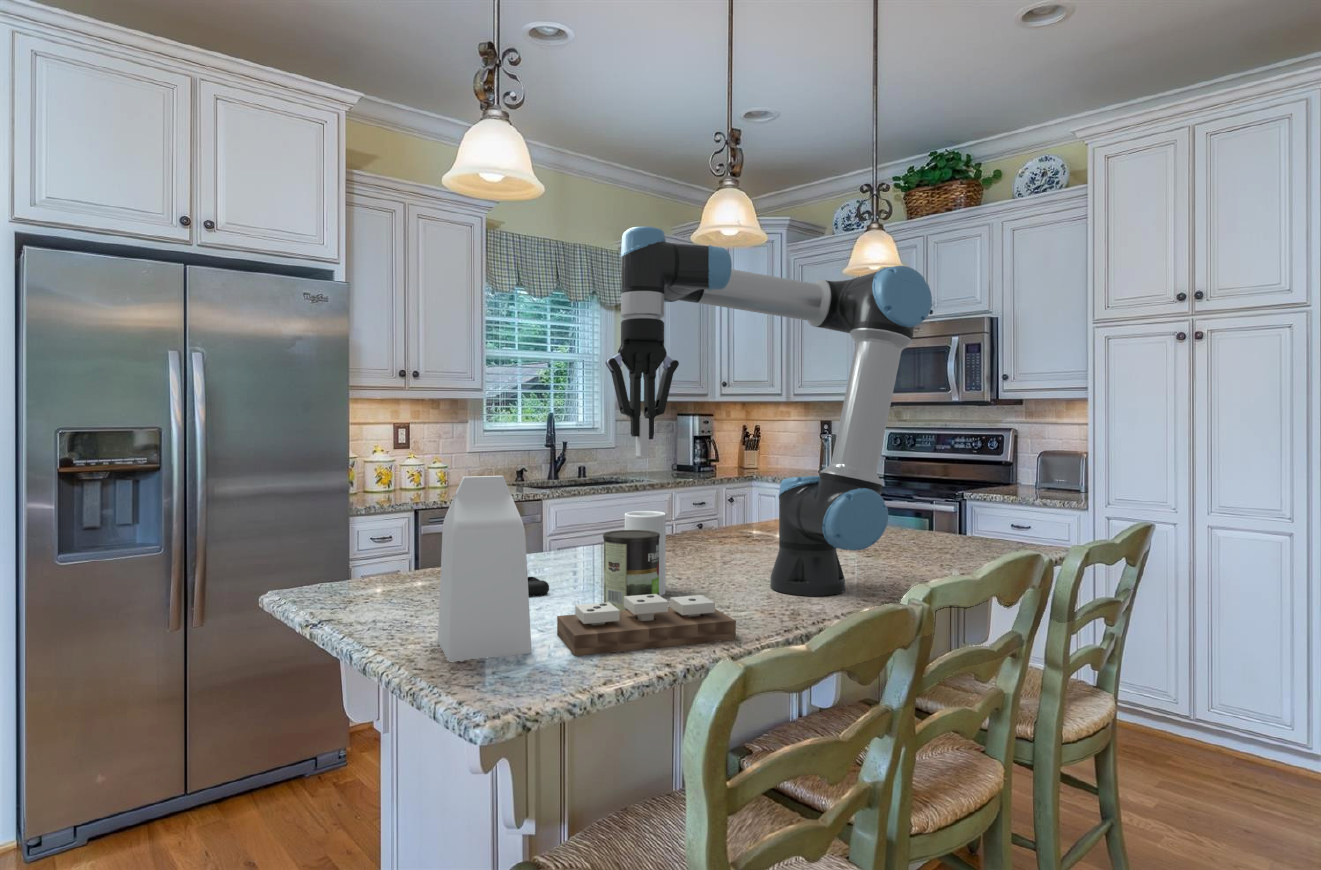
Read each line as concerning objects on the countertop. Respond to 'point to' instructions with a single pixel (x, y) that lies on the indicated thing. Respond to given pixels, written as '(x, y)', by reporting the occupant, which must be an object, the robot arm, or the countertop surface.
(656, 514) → the cup
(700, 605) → the button
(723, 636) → the button panel
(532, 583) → the door handle
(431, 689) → the countertop surface
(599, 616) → the button
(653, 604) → the button
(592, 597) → the countertop surface
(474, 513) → the milk
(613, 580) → the coffee can
